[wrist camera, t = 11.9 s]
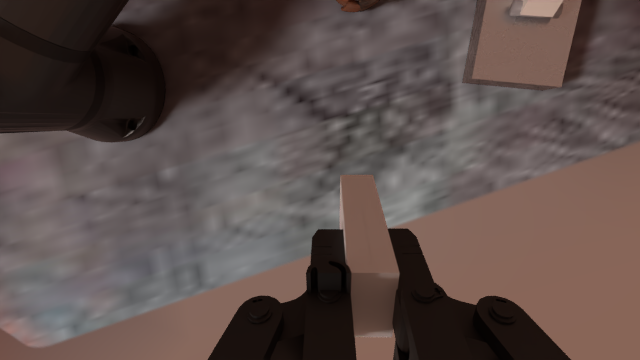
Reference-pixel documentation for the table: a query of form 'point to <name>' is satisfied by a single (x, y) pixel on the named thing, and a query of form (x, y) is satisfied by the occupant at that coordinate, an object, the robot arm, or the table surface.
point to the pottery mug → (356, 5)
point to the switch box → (519, 47)
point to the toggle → (536, 8)
